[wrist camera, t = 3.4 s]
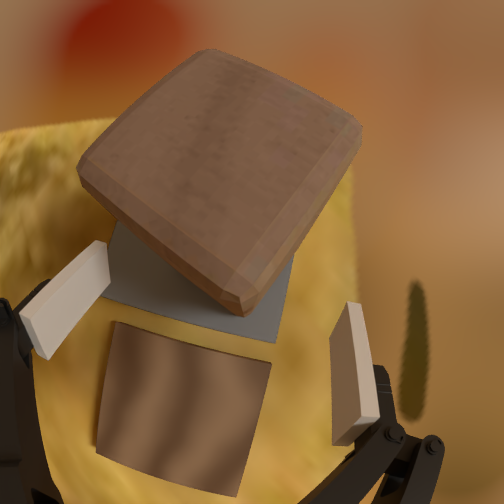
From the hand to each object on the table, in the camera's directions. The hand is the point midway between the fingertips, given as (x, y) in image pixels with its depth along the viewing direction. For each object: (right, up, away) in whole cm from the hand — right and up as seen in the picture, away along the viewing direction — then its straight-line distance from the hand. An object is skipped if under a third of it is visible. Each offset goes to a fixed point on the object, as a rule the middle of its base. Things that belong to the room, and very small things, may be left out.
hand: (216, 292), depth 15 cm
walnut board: (-6, -15, +11) cm, 19 cm away
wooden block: (0, +2, +16) cm, 16 cm away
